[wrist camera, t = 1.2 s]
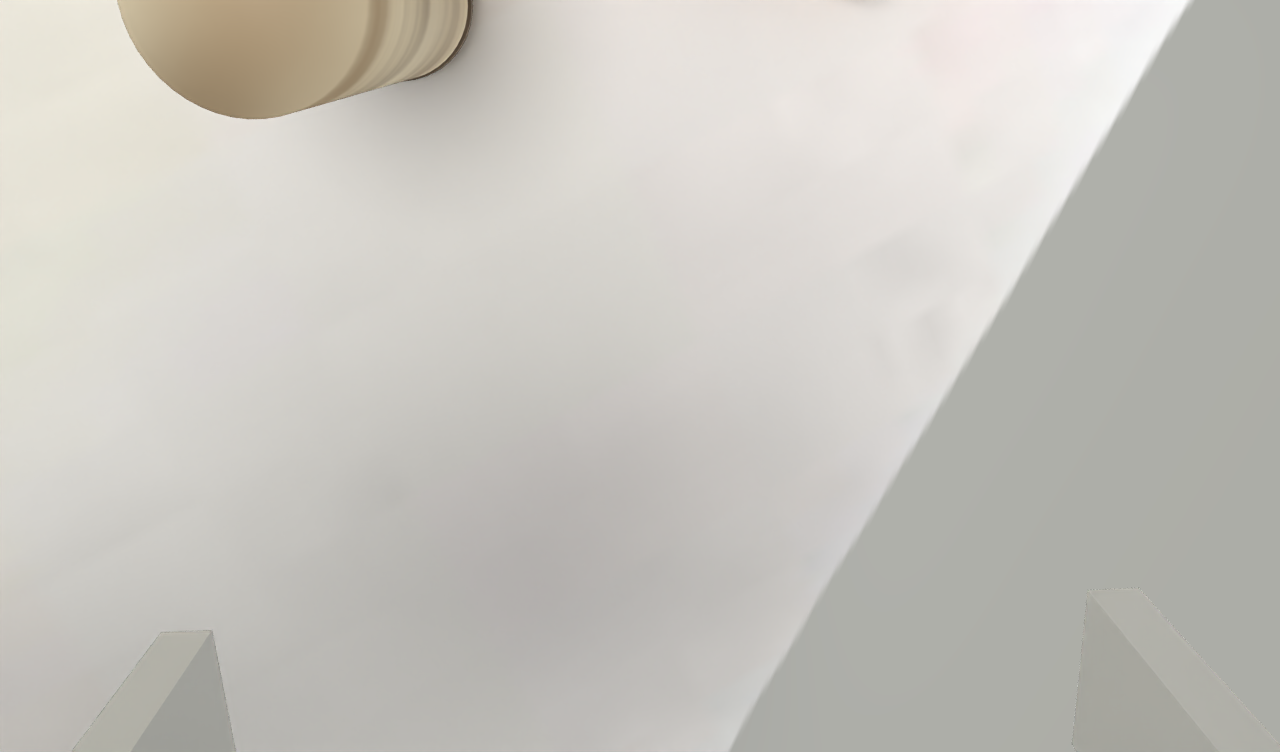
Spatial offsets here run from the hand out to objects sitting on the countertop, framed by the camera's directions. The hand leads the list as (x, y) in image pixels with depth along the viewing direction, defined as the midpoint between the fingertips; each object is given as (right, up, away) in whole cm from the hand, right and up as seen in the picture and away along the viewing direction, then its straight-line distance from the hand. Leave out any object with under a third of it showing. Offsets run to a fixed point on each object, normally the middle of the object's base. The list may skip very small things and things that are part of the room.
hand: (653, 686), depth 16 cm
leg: (-8, +17, +18) cm, 26 cm away
